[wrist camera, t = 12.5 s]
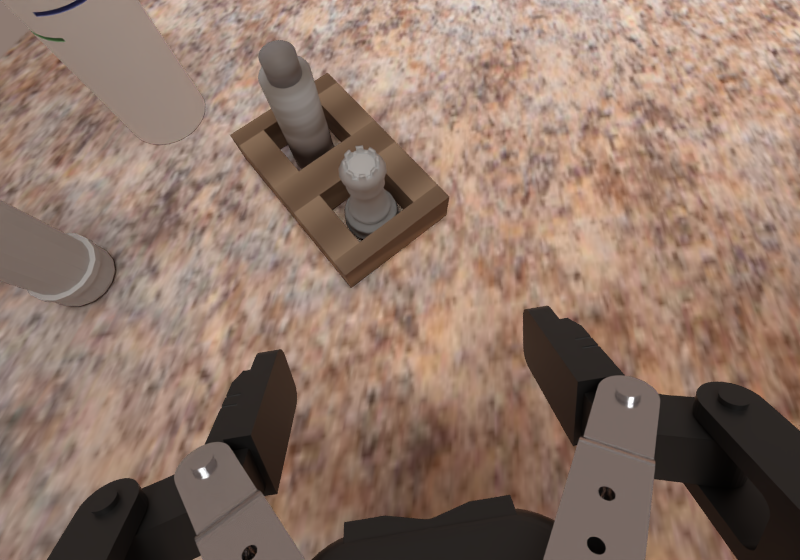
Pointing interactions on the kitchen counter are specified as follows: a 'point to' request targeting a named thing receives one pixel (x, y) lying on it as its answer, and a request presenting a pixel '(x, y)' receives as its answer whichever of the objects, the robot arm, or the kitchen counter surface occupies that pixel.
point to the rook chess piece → (366, 191)
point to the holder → (331, 163)
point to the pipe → (51, 260)
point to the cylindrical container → (119, 62)
